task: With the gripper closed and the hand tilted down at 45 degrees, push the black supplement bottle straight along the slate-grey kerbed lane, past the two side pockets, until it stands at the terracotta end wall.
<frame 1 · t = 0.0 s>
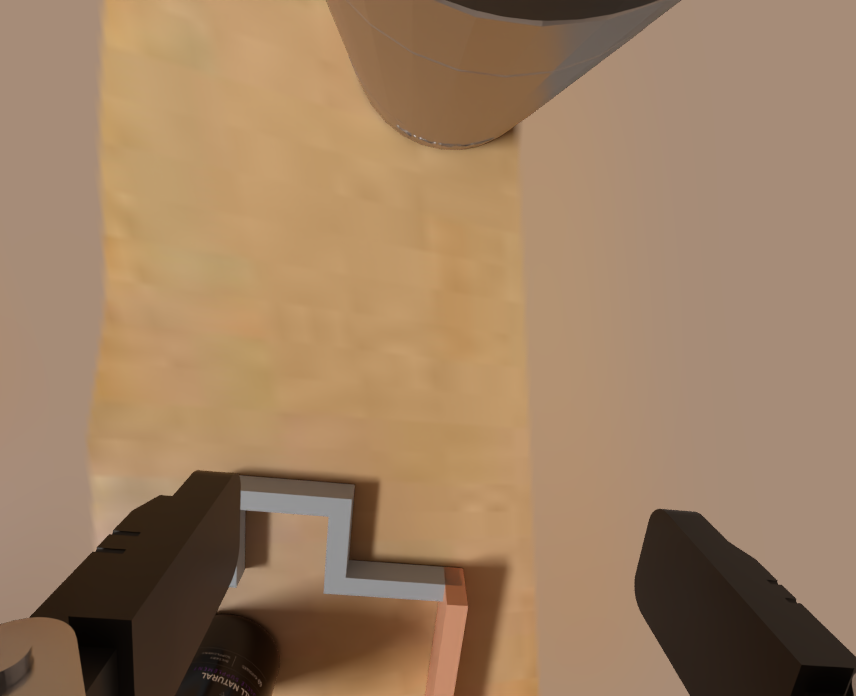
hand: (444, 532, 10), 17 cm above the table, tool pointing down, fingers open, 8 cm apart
supplement bottle: (229, 649, 32), on the table
grey zigzag frame: (306, 657, 32), on the table
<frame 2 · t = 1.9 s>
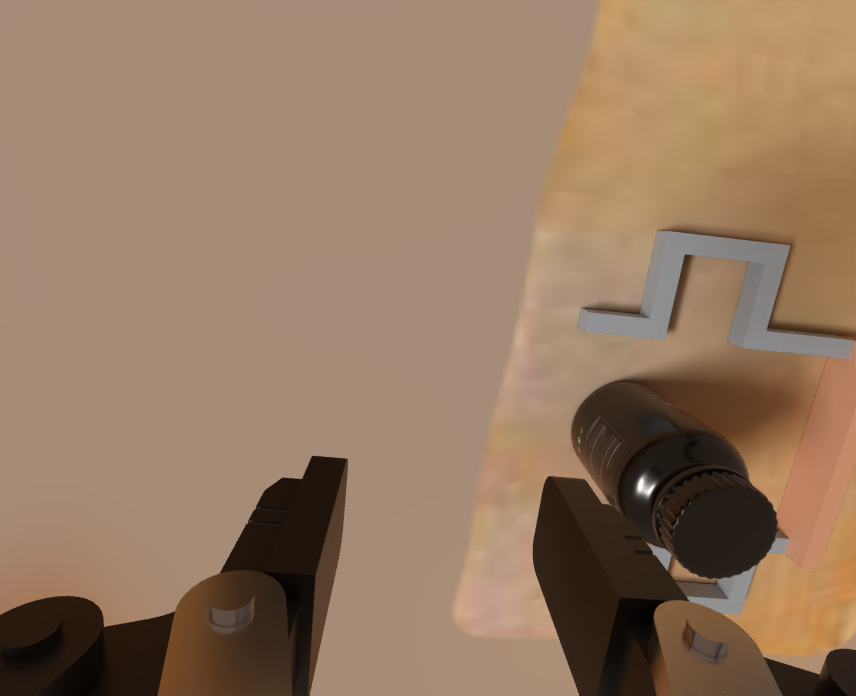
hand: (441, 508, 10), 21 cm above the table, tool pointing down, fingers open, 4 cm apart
supplement bottle: (616, 425, 34), on the table
grey zigzag frame: (688, 433, 34), on the table
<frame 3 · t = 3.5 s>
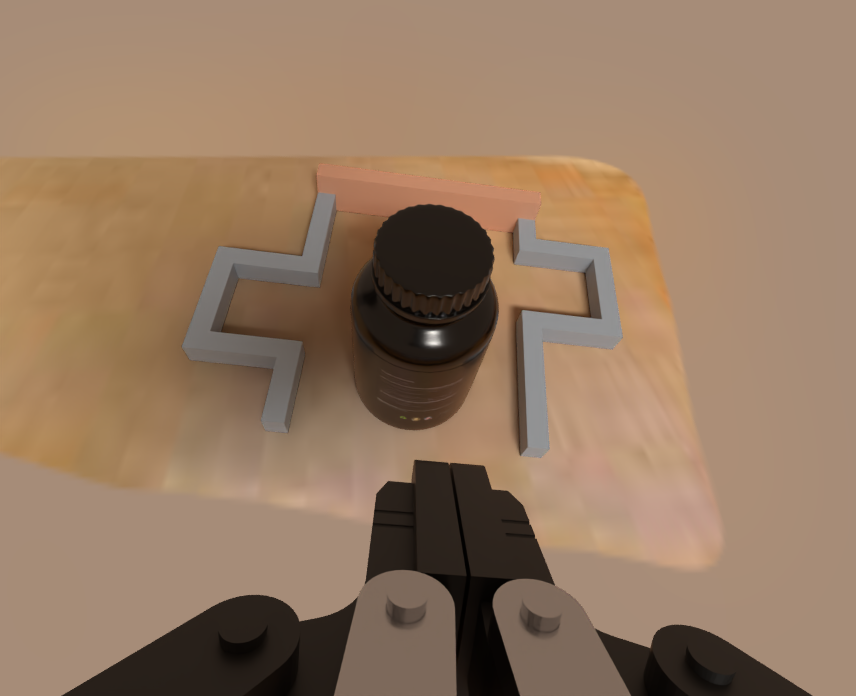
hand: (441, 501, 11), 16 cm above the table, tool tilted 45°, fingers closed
supplement bottle: (411, 382, 30), on the table
grey zigzag frame: (417, 311, 32), on the table
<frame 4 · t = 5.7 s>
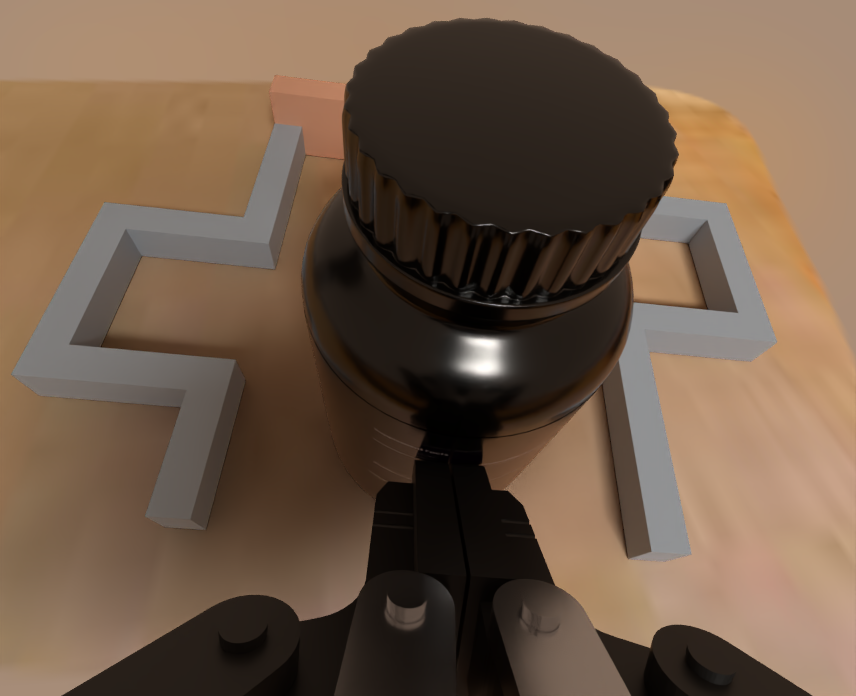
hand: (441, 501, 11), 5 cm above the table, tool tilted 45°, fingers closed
supplement bottle: (428, 424, 17), on the table, touching gripper
grey zigzag frame: (434, 305, 20), on the table
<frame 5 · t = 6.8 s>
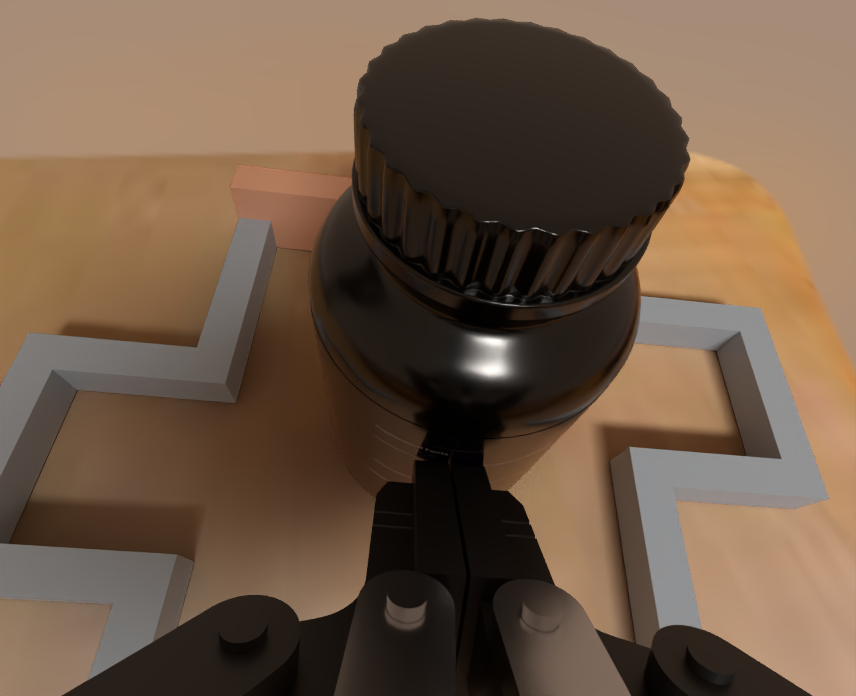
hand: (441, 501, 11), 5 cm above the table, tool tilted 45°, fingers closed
supplement bottle: (431, 425, 17), on the table, touching gripper
grey zigzag frame: (424, 446, 17), on the table
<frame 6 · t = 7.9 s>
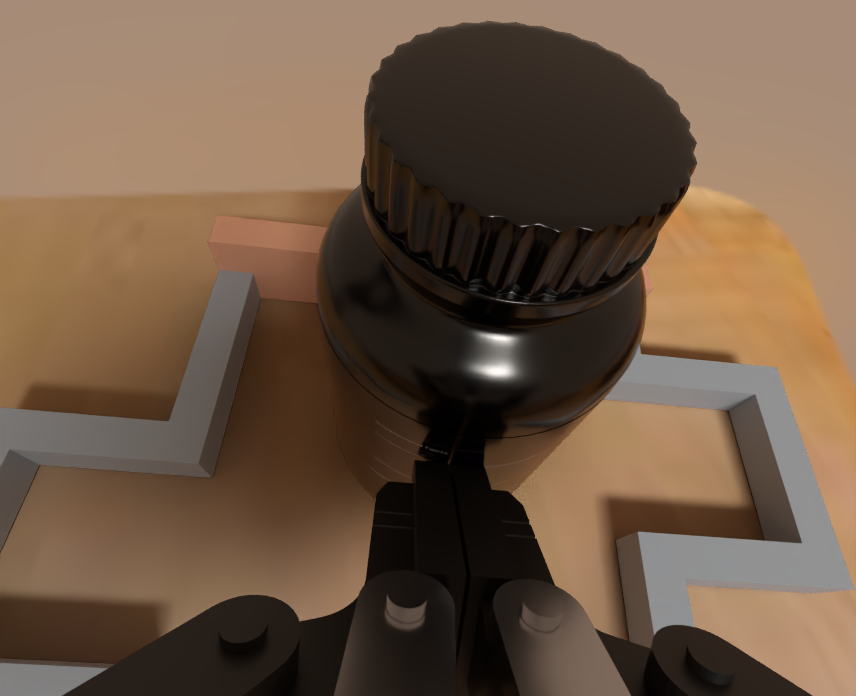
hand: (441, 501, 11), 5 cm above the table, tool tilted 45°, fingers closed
supplement bottle: (434, 428, 17), on the table, touching gripper
grey zigzag frame: (415, 525, 16), on the table
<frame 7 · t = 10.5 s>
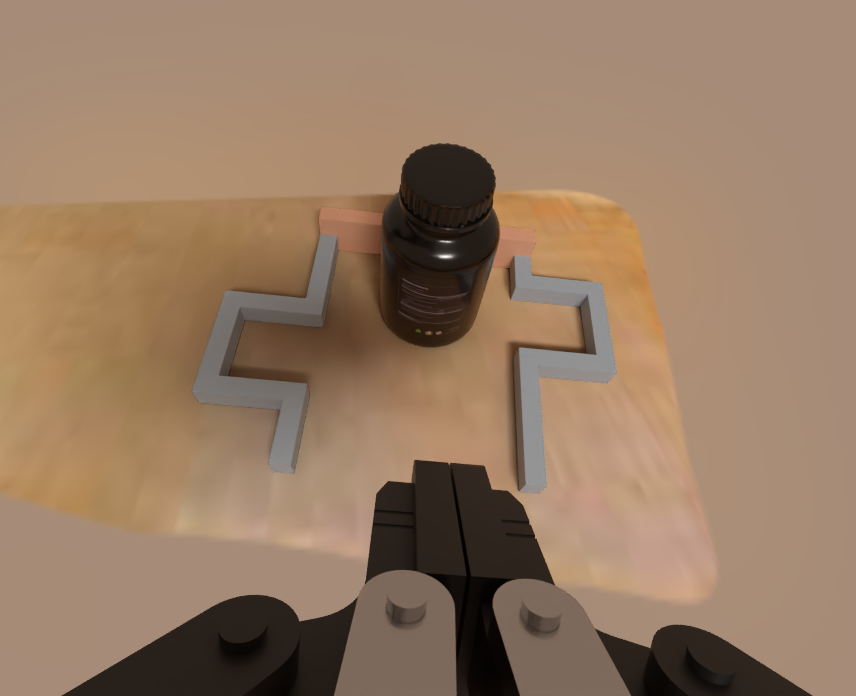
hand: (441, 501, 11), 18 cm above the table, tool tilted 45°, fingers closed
supplement bottle: (427, 312, 35), on the table
grey zigzag frame: (418, 349, 33), on the table
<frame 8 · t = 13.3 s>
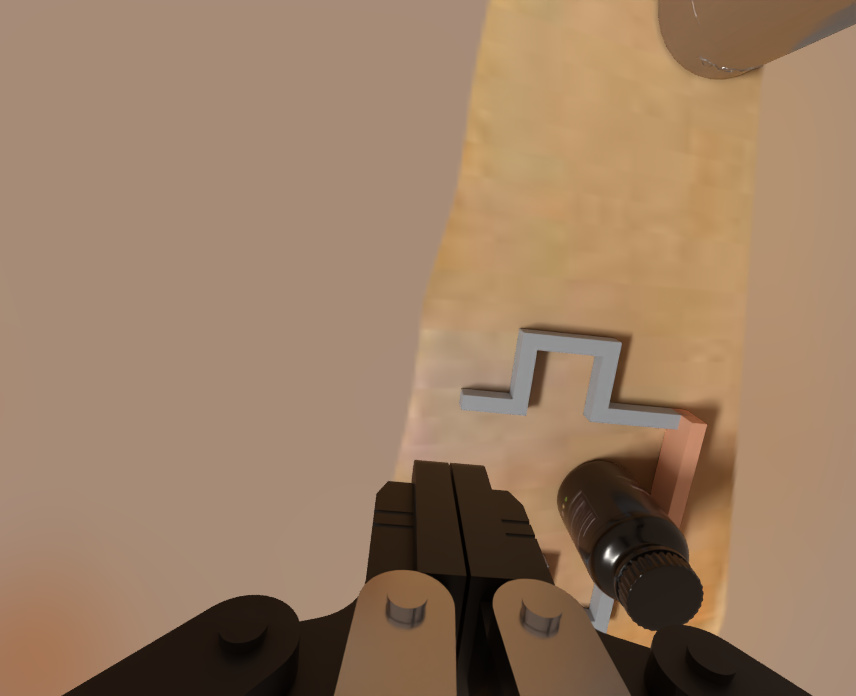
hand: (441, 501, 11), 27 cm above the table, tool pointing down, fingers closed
supplement bottle: (593, 493, 42), on the table
grey zigzag frame: (556, 486, 41), on the table
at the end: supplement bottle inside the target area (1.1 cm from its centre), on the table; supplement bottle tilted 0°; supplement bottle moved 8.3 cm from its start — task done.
